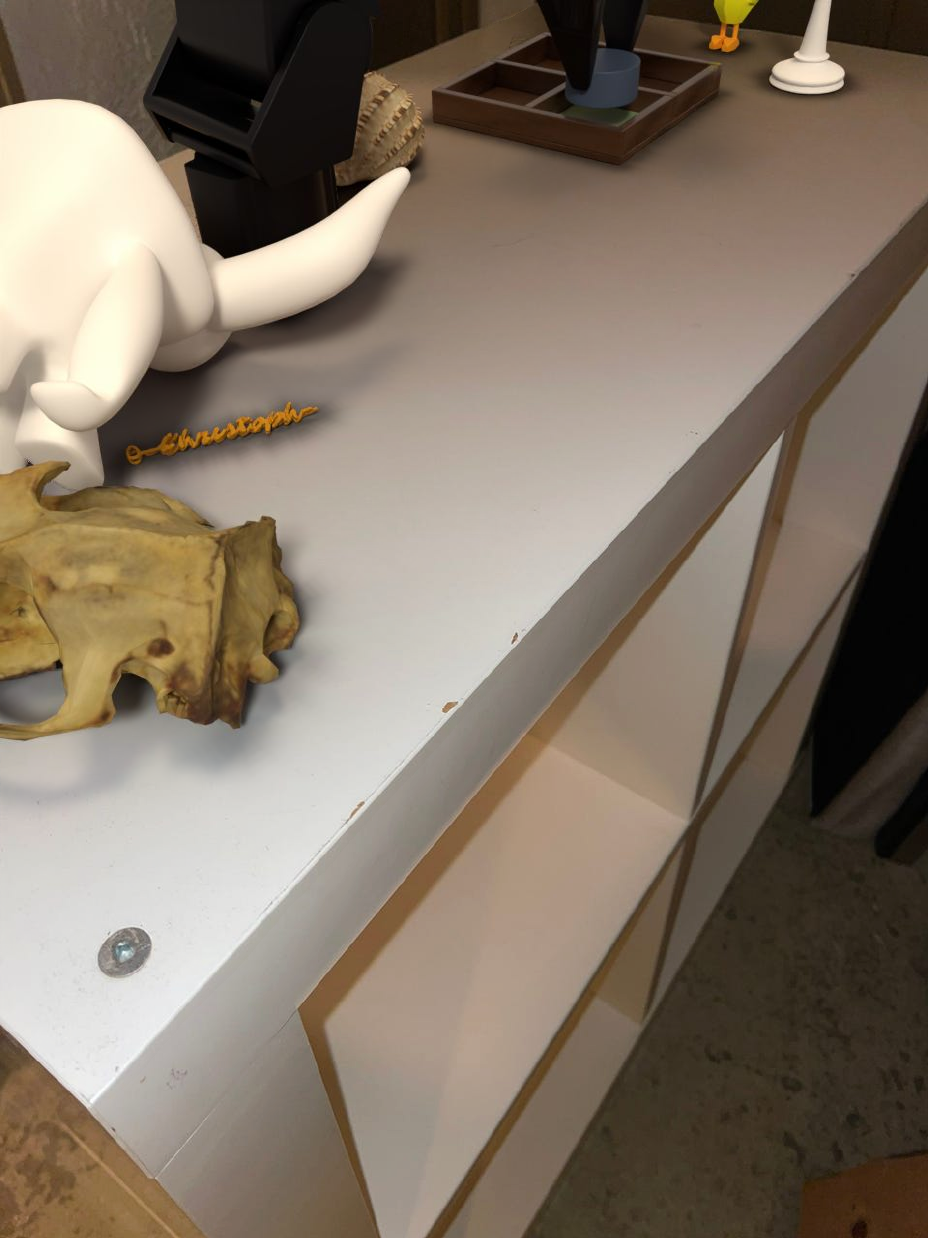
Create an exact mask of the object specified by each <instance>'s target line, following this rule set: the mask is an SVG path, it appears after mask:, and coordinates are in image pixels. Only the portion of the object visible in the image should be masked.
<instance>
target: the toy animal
mask: <svg viewBox="0 0 928 1238" xmlns="http://www.w3.org/2000/svg"><path fill="white" fill-rule="evenodd" d="M410 181H411V172H410V170H409V169H408V168H406V167H405V168H404V167H399V168H396V169H394V170H392V171H390V172H388V173H386V174H385V175H383V176H381V177H380V178H378V179H376V180H373V181H372V182H371V183H369V184H368V185H366V187H364V188H362V190H360V191H359V192H358V193H357V194H355V195H354V196H353V197H352V198H350V199H349V200H348V201H347V202H345V203H344V204H343V205H342V206H341V207H339V209H338V210H337V211H335V212H334V213H333V214H331V215H330V216H328V217H327V218H325V219H324V220H322V221H320V222H319V223H317V224H315V225H314V226H312V227H310V228H308V229H306V230H304V231H302V232H300V233H298V234H296V235H293V236H291V237H288V238H286V239H284V240H281V241H279V242H276V243H274V244H271V245H268V246H266V247H263V248H260V249H257V250H254V251H251V252H248V253H245V254H242V255H239V256H235V257H232V258H227V259H224V258H223V257H222V256H221V255H220V254H219V253H217V252H216V251H215V250H213V249H212V248H210V247H209V246H207V245H205V244H203V243H202V241H199V238H198V235H197V233H196V229H195V227H194V225H193V222H192V220H191V218H190V216H189V213H188V211H187V210H186V207H185V206H184V203H183V201H182V200H181V198H180V197H179V195H178V193H177V191H176V189H175V188H174V187H173V185H172V183H171V182H170V180H169V179H168V177H167V175H166V173H165V172H164V171H163V169H162V167H161V166H160V165H159V163H158V162H157V160H156V158H155V157H154V155H153V154H152V153H151V151H150V149H149V148H148V147H147V145H146V144H145V142H144V141H143V140H142V139H141V137H140V136H139V135H138V133H137V132H136V131H135V130H134V129H133V128H132V127H131V126H130V125H129V124H128V123H127V122H126V121H125V120H124V119H123V118H121V116H119V115H117V114H115V113H113V112H112V111H109V110H108V109H106V108H105V107H103V106H102V105H98V104H94V103H91V102H87V101H84V100H78V99H64V98H51V99H38V100H37V99H36V100H30V101H29V100H28V101H23V102H20V103H19V102H18V103H15V104H9V105H5V106H2V107H0V475H1V474H10V473H11V472H13V471H15V470H18V469H21V468H25V467H27V464H28V462H29V463H30V464H32V466H33V465H36V464H40V463H44V462H48V461H61V462H68V463H70V464H71V466H70V468H69V469H68V470H67V471H63V472H62V473H61V474H59V475H58V476H57V477H56V478H54V479H53V480H52V482H55V483H56V484H58V485H59V486H61V487H62V488H64V489H67V490H69V491H72V492H78V491H80V490H82V489H85V488H88V487H95V486H104V483H105V473H104V472H105V471H104V466H103V460H102V455H101V454H102V453H101V448H100V442H99V441H100V440H99V433H98V428H100V427H101V426H103V425H105V424H106V423H108V421H110V420H111V419H112V418H113V417H115V416H116V415H117V414H118V412H119V411H120V410H121V409H122V408H123V406H125V404H126V403H127V402H128V401H129V399H130V397H131V396H132V395H133V393H134V392H135V390H136V389H137V388H138V386H139V385H140V383H141V381H142V379H143V377H144V376H145V375H146V372H147V371H148V369H149V368H150V369H152V370H157V371H160V372H169V373H177V372H178V373H179V372H184V371H185V372H186V371H189V370H192V369H194V368H197V367H200V366H202V365H203V364H205V363H207V361H209V360H210V359H212V358H213V357H214V356H215V355H216V354H217V353H218V352H219V351H220V350H221V348H222V347H223V346H224V345H225V344H226V343H227V341H228V339H229V338H230V336H231V335H232V333H233V332H235V331H241V330H246V329H251V328H257V327H259V326H264V325H267V324H271V323H273V322H277V321H280V320H283V319H285V318H288V317H292V316H294V315H297V314H299V313H301V312H302V313H303V312H304V311H306V310H309V309H311V308H314V307H316V306H318V305H319V304H322V303H324V302H326V301H327V300H329V299H331V298H333V297H335V296H336V295H338V294H339V293H341V292H342V291H343V290H345V289H346V288H348V287H349V286H350V285H352V284H353V283H354V282H355V281H356V280H357V278H359V277H360V275H361V274H362V273H363V272H364V271H365V270H366V268H367V267H368V266H369V263H370V262H371V260H372V258H373V256H374V254H375V253H376V251H377V248H378V246H379V244H380V241H381V240H382V237H383V234H384V231H385V229H386V226H387V224H388V222H389V219H390V218H391V215H392V214H393V211H394V209H395V207H396V205H397V204H398V201H399V200H400V198H401V197H402V195H403V193H404V191H405V190H406V188H407V187H408V185H409V183H410Z"/></svg>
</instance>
